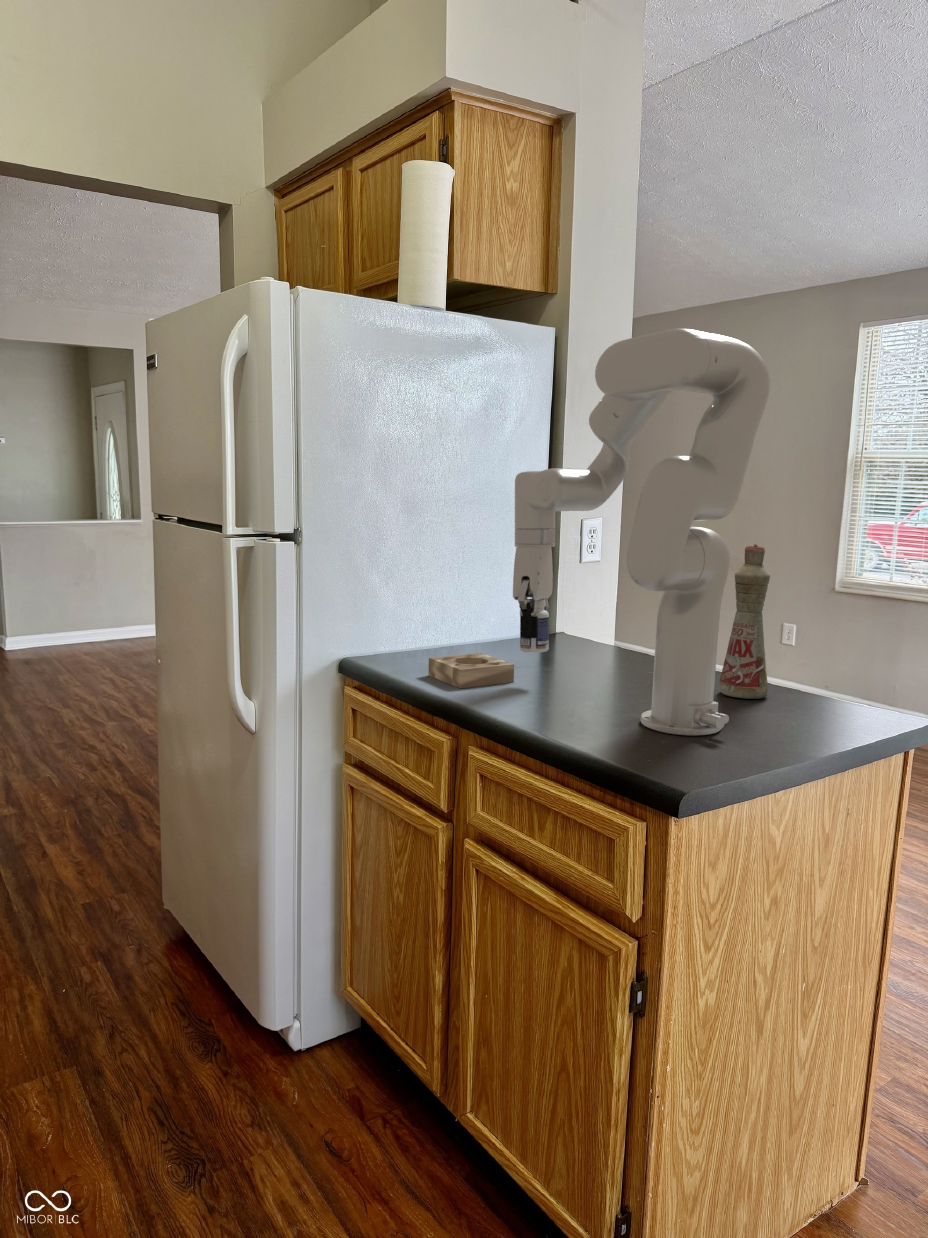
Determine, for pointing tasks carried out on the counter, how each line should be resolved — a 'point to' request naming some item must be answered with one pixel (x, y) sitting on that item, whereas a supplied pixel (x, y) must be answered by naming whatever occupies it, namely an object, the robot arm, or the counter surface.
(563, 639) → the counter surface
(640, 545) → the robot arm
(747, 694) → the bottle
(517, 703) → the counter surface
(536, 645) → the pill bottle
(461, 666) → the collar
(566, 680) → the counter surface
